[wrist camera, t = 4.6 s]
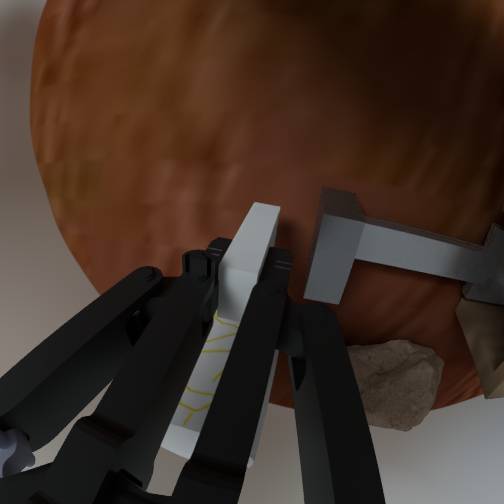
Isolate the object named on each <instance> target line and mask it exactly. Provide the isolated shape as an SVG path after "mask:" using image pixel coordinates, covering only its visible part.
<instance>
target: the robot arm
mask: <svg viewBox="0 0 504 504" xmlns="http://www.w3.org/2000/svg"><path fill="white" fill-rule="evenodd" d="M279 213H280V207H278V206H273V205H267V204H262V203H256V202H254V204H253V206H252V208H251V209H250V211H249V213H248V214H247V216H246V218H245V220H244V222H243V223H242V225H241V227H240V229H239V230H238V232H237V234H236V236H235V237H234V239H233V240H231V239H226V238H221V237H218V238H217V239H215V240H213V241H212V242H211V243H210V245H209V246H208V248H207V249H206V251H205V250H191V251H188V252H186V253H185V254H183V255H182V265H183V273H182V275H181V276H179V277H163V274H162V272H161V270H159V269H158V268H156V267H153V266H145V267H140V268H138V269H136V270H135V271H133V272H132V273H130V274H129V275H128V276H126V277H125V278H124V279H122V280H121V281H120V282H118V283H117V284H115V285H114V286H113V287H111V288H110V289H109V290H107V291H106V292H105V293H103V294H102V295H101V296H99V297H98V298H97V299H96V300H94V301H93V302H92V303H90V304H89V305H88V306H86V307H85V308H84V309H83V310H81V311H80V312H79V313H78V314H76V315H75V316H74V317H73V318H71V319H70V320H69V321H68V322H66V323H65V324H64V325H62V326H61V327H60V328H59V329H57V330H56V331H55V332H54V333H52V334H51V335H50V336H49V337H47V339H45V340H44V341H43V342H41V343H40V344H39V345H38V346H37V347H35V348H34V349H33V350H32V351H31V352H30V353H28V354H27V355H26V356H25V357H24V358H23V359H21V360H20V361H19V362H18V363H17V364H16V365H15V366H13V367H12V368H11V369H10V370H9V371H8V372H7V373H6V374H4V375H3V376H2V377H1V378H0V504H237V503H238V499H239V496H240V493H241V489H242V485H243V482H244V477H245V472H246V468H247V465H248V461H249V457H250V454H251V450H252V446H253V442H254V438H255V434H256V430H257V426H258V422H259V418H260V414H261V410H262V406H263V402H264V398H265V393H266V389H267V385H268V380H269V376H270V372H271V367H272V363H273V358H274V353H275V349H277V350H279V351H281V352H283V353H285V354H287V355H288V363H289V371H290V378H291V386H292V394H293V402H294V410H295V419H296V427H297V435H298V444H299V454H300V462H301V472H302V482H303V492H304V502H305V504H386V503H385V498H384V493H383V488H382V483H381V478H380V473H379V468H378V464H377V460H376V455H375V451H374V446H373V442H372V438H371V434H370V430H369V426H368V422H367V418H366V414H365V410H364V406H363V403H362V399H361V395H360V392H359V388H358V385H357V381H356V378H355V374H354V371H353V367H352V364H351V361H350V357H349V354H348V351H347V347H346V344H345V341H344V338H343V335H342V332H341V328H340V325H339V322H338V319H337V316H336V314H335V312H334V311H333V310H332V309H331V308H330V307H329V306H327V305H325V304H322V303H316V302H315V303H309V304H307V305H305V306H304V307H303V306H301V305H299V304H297V303H295V302H294V301H293V300H292V299H291V298H290V297H289V296H288V293H287V287H288V281H289V276H290V270H291V265H292V259H293V256H292V254H291V252H290V250H285V249H280V248H275V247H274V244H275V238H276V232H277V226H278V219H279ZM216 310H217V317H220V318H224V319H228V320H232V321H236V322H240V325H239V327H238V330H237V333H236V336H235V339H234V341H233V344H232V347H231V350H230V352H229V355H228V358H227V361H226V363H225V366H224V369H223V372H222V375H221V377H220V380H219V383H218V385H217V388H216V391H215V394H214V396H213V399H212V402H211V405H210V407H209V410H208V413H207V415H206V418H205V421H204V423H203V426H202V429H201V432H200V434H199V437H198V440H197V442H196V445H195V448H194V450H193V453H192V455H191V457H190V459H189V460H188V461H187V462H186V463H185V465H184V467H183V469H182V471H181V473H180V476H179V478H178V481H177V484H176V486H175V488H174V491H173V493H172V496H165V495H158V494H152V493H148V492H147V491H146V489H147V487H148V485H149V482H150V480H151V477H152V474H153V469H154V460H155V458H156V455H157V453H158V450H159V448H160V446H161V444H162V441H163V439H164V437H165V434H166V432H167V430H168V427H169V425H170V423H171V420H172V418H173V416H174V413H175V411H176V409H177V407H178V404H179V402H180V400H181V397H182V395H183V393H184V391H185V388H186V386H187V384H188V381H189V379H190V377H191V374H192V372H193V370H194V368H195V365H196V363H197V361H198V358H199V356H200V354H201V352H202V349H203V347H204V345H205V343H206V340H207V338H208V336H209V333H210V331H211V329H212V327H213V322H214V314H215V312H216ZM136 311H138V312H137V313H135V312H136ZM134 313H135V314H134ZM133 314H134V315H133ZM112 379H113V381H112ZM111 381H112V382H111ZM110 382H111V384H110V386H109V387H108V389H107V391H106V392H105V394H104V396H103V397H102V400H101V401H100V403H99V404H98V406H97V408H96V409H95V411H94V412H93V414H92V415H90V416H85V417H81V418H80V419H79V420H77V422H76V423H75V424H74V425H73V427H72V429H71V431H70V432H69V434H68V436H67V438H66V439H65V441H64V443H63V445H62V446H61V448H60V450H59V452H58V454H57V456H56V457H55V459H54V461H53V462H51V463H48V464H45V465H42V466H39V467H36V468H33V469H30V470H27V471H23V472H21V471H22V470H23V469H24V468H25V467H26V466H29V467H31V466H33V465H34V464H35V456H34V455H33V453H32V452H34V451H36V450H38V449H40V448H42V447H43V446H45V445H46V444H47V443H49V442H50V441H51V440H52V439H54V438H55V437H56V436H57V435H58V434H59V433H60V432H61V431H62V430H63V429H64V428H65V427H66V426H67V425H68V424H69V423H70V422H71V421H72V420H73V419H74V418H75V417H76V416H77V415H78V414H79V413H80V412H81V411H82V410H83V409H84V408H85V407H86V406H87V405H88V404H89V403H90V402H91V401H92V400H93V399H94V398H95V397H96V396H97V395H98V394H99V393H100V392H101V391H102V390H103V389H104V388H105V387H106V386H107V385H108V384H109V383H110Z"/></svg>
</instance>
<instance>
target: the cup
mask: <svg viewBox="0 0 504 504" xmlns="http://www.w3.org/2000/svg"><path fill="white" fill-rule="evenodd" d="M239 325H240V322H236V321H232V320H228V319H224V318H220V317H217V310H216V312H215V314H214V322H213V327H212V329H211V331H210V333H209V336H208V338H207V340H206V343H205V345H204V347H203V349H202V352H201V354H200V356H199V358H198V361H197V363H196V365H195V368H194V370H193V372H192V374H191V377H190V379H189V381H188V384H187V386H186V388H185V391H184V393H183V395H182V397H181V400H180V402H179V404H178V407H177V409H176V411H175V413H174V416H173V418H172V420H171V423H170V425H169V427H168V430H167V432H166V434H165V437H164V439H163V441H162V444H161V446H162V447H163V448H166V449H168V450H169V451H171V452H173V453H175V454H178V455H180V456H182V457H185V458H188V459H190V457H191V455H192V453H193V450H194V448H195V445H196V442H197V440H198V437H199V434H200V432H201V429H202V426H203V423H204V421H205V418H206V415H207V413H208V410H209V407H210V405H211V402H212V399H213V396H214V394H215V391H216V388H217V385H218V383H219V380H220V377H221V375H222V372H223V369H224V366H225V363H226V361H227V358H228V355H229V352H230V350H231V347H232V344H233V341H234V339H235V336H236V333H237V330H238V327H239ZM278 354H279V350H277V349H275V353H274V358H273V363H272V367H271V372H270V376H269V380H268V385H267V389H266V393H265V398H264V402H263V406H262V410H261V414H260V418H259V422H258V426H257V430H256V434H255V438H254V442H253V446H252V450H251V454H250V457H249V461H248V465H247V468H248V467H251V466H252V465H253V464H254V460H255V455H256V451H257V448H258V444H259V440H260V435H261V431H262V427H263V423H264V418H265V414H266V410H267V405H268V401H269V397H270V392H271V387H272V383H273V378H274V373H275V369H276V364H277V359H278Z"/></svg>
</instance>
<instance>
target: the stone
mask: <svg viewBox="0 0 504 504" xmlns="http://www.w3.org/2000/svg"><path fill="white" fill-rule="evenodd" d="M346 347H347V351H348V354H349V357H350V361H351V364H352V367H353V371H354V374H355V378H356V381H357V385H358V388H359V392H360V395H361V399H362V403H363V406H364V410H365V414H366V418H367V422H368V425H372V426H377V427H383V428H394V429H396V430H401V431H409V430H410V429H412V427H413V426H416V425H418V424H420V423H421V422H422V420H423V419H424V417H425V416H426V415H427V414H428V412H429V411H430V409H431V407H432V405H433V404H434V402H435V399H436V394H437V389H438V386H439V383H440V381H441V377H442V369H443V367H444V361H443V360H442V359H441V358H440V357H439V356H437V355H436V354H435V352H434V350H433V349H432V348H428V347H425V346H421V345H417V344H414V343H411V342H410V341H409V340H400V339H398V340H394V341H393V340H390V341H388V342H386V343H384V344H373V345H366V346H360V345H352V346H346Z"/></svg>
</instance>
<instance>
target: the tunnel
mask: <svg viewBox="0 0 504 504" xmlns="http://www.w3.org/2000/svg"><path fill="white" fill-rule="evenodd" d="M502 211H503V212H504V205H503V208H502ZM454 311H455V313H456V315H457V318H458V320H459V322H460V325H461V327H462V330H463V332H464V335H465V338H466V340H467V343H468V346H469V348H470V351H471V354H472V357H473V360H474V363H475V366H476V369H477V372H478V375H479V379H480V382H481V386H482V389H483V393H484V396H485V399H492V398H501V397H504V305H501V304H495V303H490V302H484V301H478V300H473V299H467V298H465V297H462V298H461V300H460V302H459V303H458V305H457V307H456V308H455V310H454Z"/></svg>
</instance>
